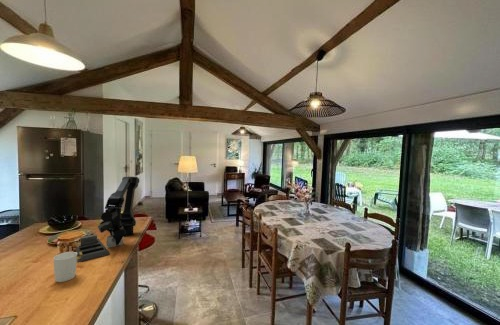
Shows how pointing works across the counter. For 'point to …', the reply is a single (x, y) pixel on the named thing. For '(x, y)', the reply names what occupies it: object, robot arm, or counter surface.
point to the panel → (112, 241)
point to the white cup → (65, 266)
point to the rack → (90, 248)
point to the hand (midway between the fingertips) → (114, 242)
